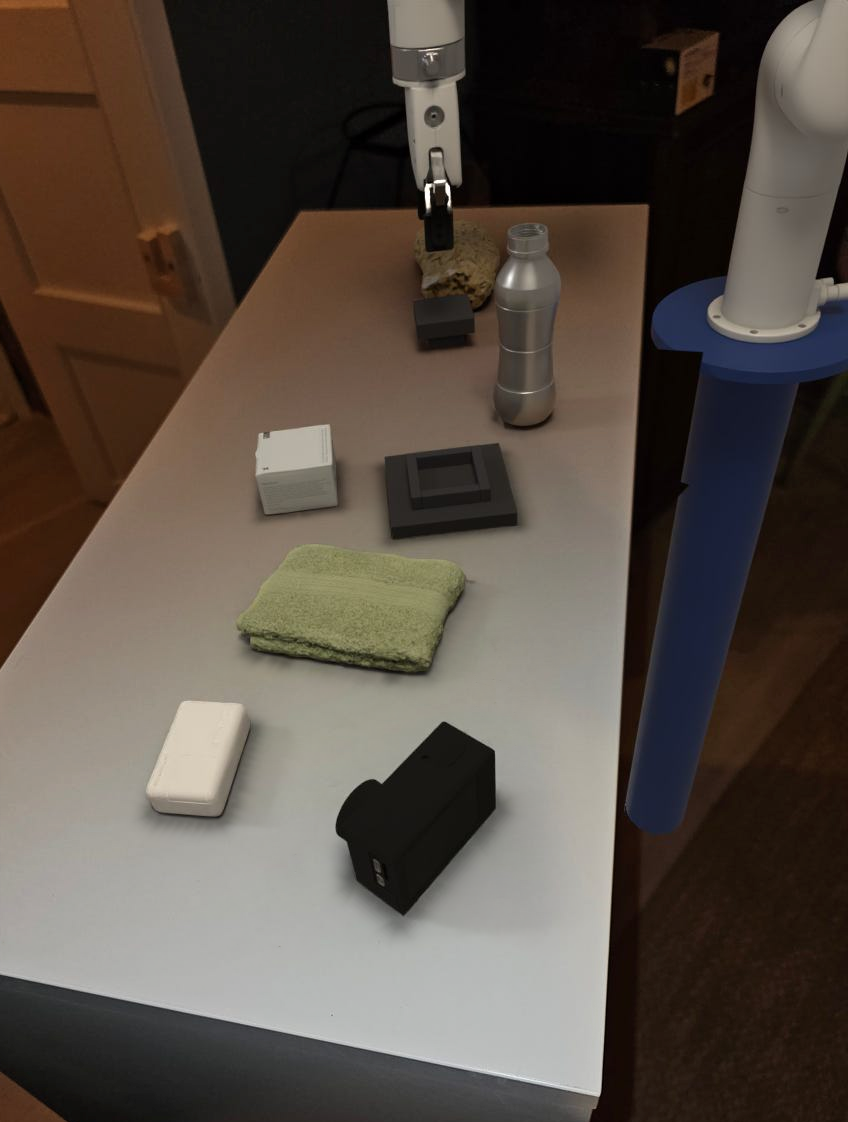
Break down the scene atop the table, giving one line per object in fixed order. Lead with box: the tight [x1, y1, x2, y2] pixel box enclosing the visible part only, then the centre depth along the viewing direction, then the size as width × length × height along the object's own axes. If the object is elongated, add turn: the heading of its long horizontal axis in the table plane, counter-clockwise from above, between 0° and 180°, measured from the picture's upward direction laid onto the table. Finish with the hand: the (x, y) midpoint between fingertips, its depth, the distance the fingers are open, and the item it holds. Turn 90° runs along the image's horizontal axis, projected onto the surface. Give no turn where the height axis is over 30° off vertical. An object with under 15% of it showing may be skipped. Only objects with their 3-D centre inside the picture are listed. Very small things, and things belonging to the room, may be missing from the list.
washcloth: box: [235, 543, 467, 673], centre depth 75 cm, size 13×18×3 cm
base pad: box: [384, 442, 518, 540], centre depth 86 cm, size 12×12×3 cm
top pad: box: [412, 293, 476, 350], centre depth 108 cm, size 7×7×4 cm
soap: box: [145, 700, 251, 817], centre depth 65 cm, size 9×6×3 cm, turn 171°
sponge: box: [412, 219, 501, 311], centre depth 118 cm, size 13×8×20 cm
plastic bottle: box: [492, 222, 563, 427], centre depth 88 cm, size 6×7×20 cm
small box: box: [254, 423, 339, 515], centre depth 89 cm, size 8×8×5 cm
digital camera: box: [335, 721, 497, 917], centre depth 57 cm, size 10×5×7 cm, turn 139°
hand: (435, 233), depth 100 cm, fingers open, 9 cm apart
